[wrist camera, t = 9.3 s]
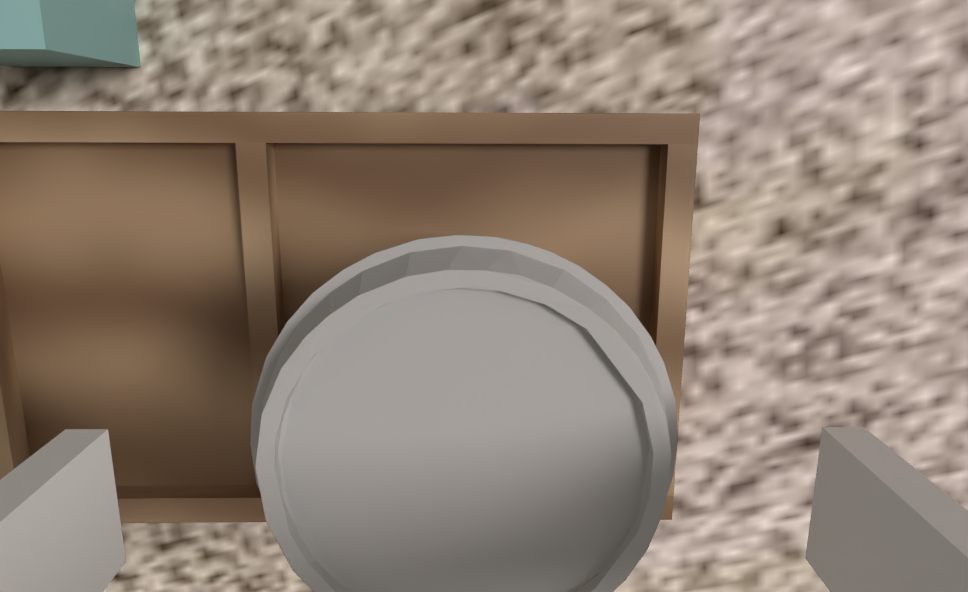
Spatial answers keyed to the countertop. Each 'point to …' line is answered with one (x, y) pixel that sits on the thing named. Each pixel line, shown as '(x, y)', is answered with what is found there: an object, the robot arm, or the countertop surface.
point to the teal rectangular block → (68, 33)
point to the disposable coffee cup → (463, 425)
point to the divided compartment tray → (282, 258)
